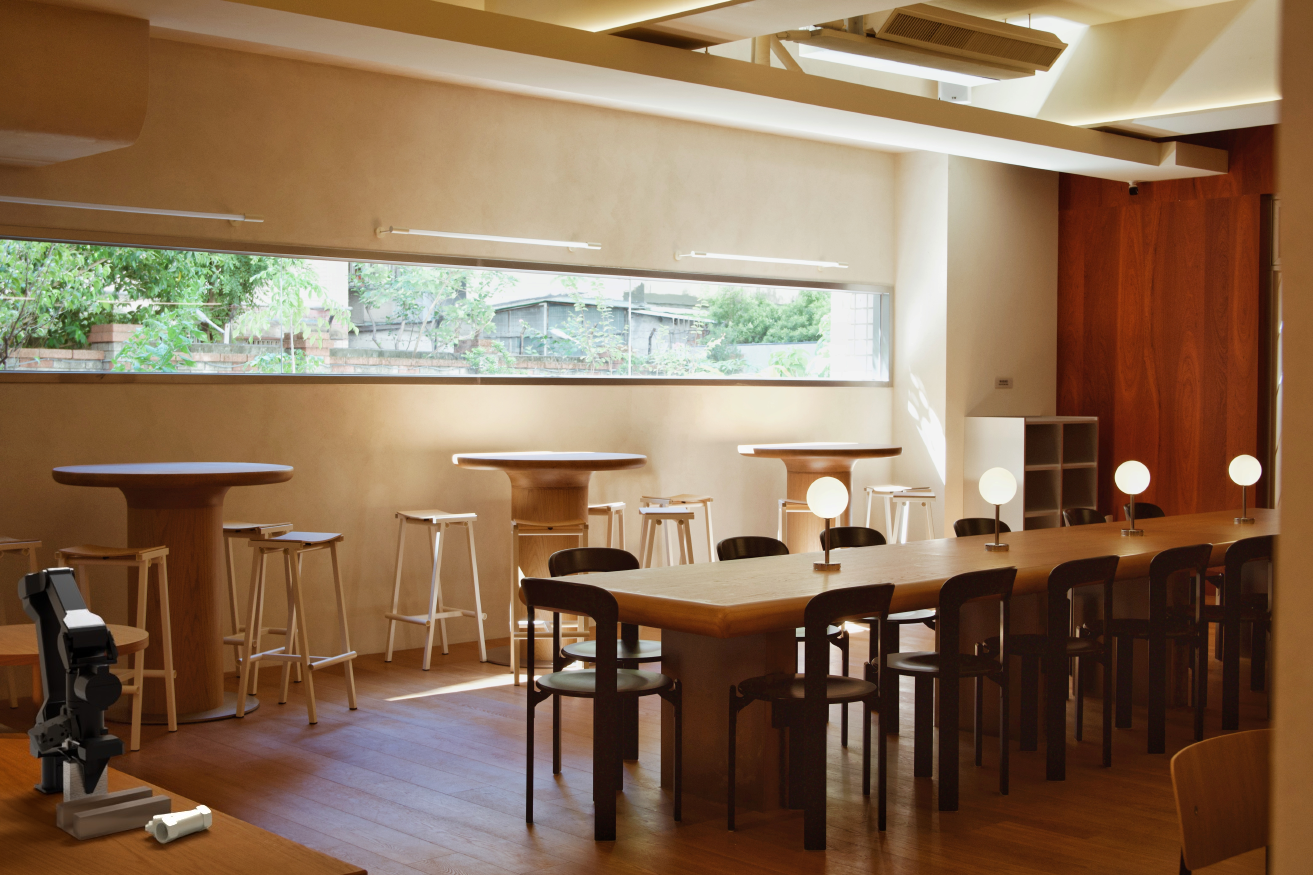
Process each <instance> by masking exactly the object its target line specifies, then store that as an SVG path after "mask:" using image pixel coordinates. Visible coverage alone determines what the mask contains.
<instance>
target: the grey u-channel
mask: <svg viewBox="0 0 1313 875" xmlns="http://www.w3.org/2000/svg"><path fill="white" fill-rule="evenodd" d="M153 791H154V790H153V788H151V787H148V786H146V785H143V786H137V787H131V788H128V789H123V790H118V791H112V792H107V794H102V795H97V796H92V797H87V798H82V799H77V800H73V801H68V802H64V801H63V802H57V803H56V827H57V828H59V829H61V830H63V831H64V832H66V833H68V834H70V836H73V837H74V838H76V839H77V840H79V841H85V840H88V839H89V840H90V839H94V838H98V837H103V836H107V835H111V834H115V833H119V832H123V831H128V830H129V831H130V830H133V829H138V828H142V827H145V825H148V824H149V821H153V817H154V816H156V815H163V814H170V813H172V798H171V797H169V796H168V795H165V794H160V795H156V796H153Z"/></svg>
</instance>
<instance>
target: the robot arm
mask: <svg viewBox="0 0 1313 875" xmlns="http://www.w3.org/2000/svg"><path fill="white" fill-rule="evenodd" d="M75 574H76V573H75V570H74V568H72V567H68V566H66V567H64V566H63V567H49V568H45V569H43V570H40V571H39V572H28V573H25V575H24V576H23V577H22V578H21V579H19V580H18V582H17V596H18V598H19V600H21V603H22V607H23V608H22V609H23V611H24V612H25V614H26V615H27V616H28V617H29V618H30V619H31V620H32V621H33V622H34V624H35V633H36V641H37V649H38V658H39V666H40V673H41V683H42V691H43V699H44V700H43V704H42V705H41V707H40V709H39V711H38V713H37V715H36V718H35V722H36V723H35V725H34V726H33V727H32V728H30V729H28V731H27V734H28V737H29V754H30V755H31V756H33V757H34V758H35V759H36V760H37V759H41V760H40V761H41V771H40V772H41V778H40V779H41V782H39V783H38V782H37V783H35V784H34V788H35V789H36V790H39V791H41V792H42V793H44V794H53V793H58V792H62V791H63V792H64V780H63V761H66V760H71V759H75V760H76V761H77V762H79V763H80V765H81V770H82V776H83V783H84V788H85V793H86V794H92V793H93V792H94V790H95V788H96V786H97V783H98V781H99V779H100V777H101V775H102V773H103V771H104V769H105V767H106V765H107V766H108V764H109V761H110V760H111V758H113V757H117V756H123V755H125V753H126V751H125V742H124V741H123V740H122V739H121V738H119V737H117V736H116V735H113V734H109V728H108V727H106V726H105V711H108V710H109V707H111V706H112V705H114V704H115V703H116V702H117V701H119V699H120V697H121V696H122V693H123V692H122V691H123V685H122V682H121V680H120V678H119V677H118V676H117V675H116V674H114V673H113V672H110V666H113V665H118V657H119V650H118V648H117V644H116V641H115V638H114V635H113V634H112V632H111V629H110V627H109V628H108V626H107V624H106V623H105V621H104V620H103V618H102V617H101V616H99V615H97V614H95V613H92V612H91V611H90V610H89V609H88V606H87V603H86V602H85V600H84V598H83V596H82V593H81V591H80V589H79V587H78V584H77V582H76V575H75ZM105 654H106V655H105Z"/></svg>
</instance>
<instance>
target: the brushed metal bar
mask: <svg viewBox="0 0 1313 875" xmlns="http://www.w3.org/2000/svg"><path fill="white" fill-rule="evenodd" d="M63 780H64V790H63V802H68V801H73V800H77V799H82V798H87V797H92V796H97V795H102V794H107V793H108V764H107V765H106V767H105V769H104V771H103V773H102V775H101V777H100V779H99V781H98V783H97V786H96V788H95V790H94V792H93V793H92V794H86V793H85V788H84V783H83V776H82V770H81V765H80V763H79V762H77V761H76V760H75V759H71V760H66V761H63Z"/></svg>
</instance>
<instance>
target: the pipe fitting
mask: <svg viewBox="0 0 1313 875" xmlns="http://www.w3.org/2000/svg"><path fill="white" fill-rule="evenodd" d="M212 815H213V814H212V811H211V810H210V809H209V808H208V807H207V806H206V805H204V804H203V805H198V806H196V807H195V808H193V809H192V810H187V811H180V812H171V813H170V814H163V815H156V816H154V817H153V821H149V824H148V825H145V826H144V827H145V828H144V830H145V832H148V833H149V835H151V834H152V835H153V838H155V839H156V840H157V841H158V842H159V843H160V844H167V843H170V842H172V841H174V840H176V839H178V838H182V837H184V836H186V835H190V834H193V833H196V832H199V833H200V832H201V831H204V830H207V829H208V828H209V827H211V826H212V824H213V816H212Z"/></svg>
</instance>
